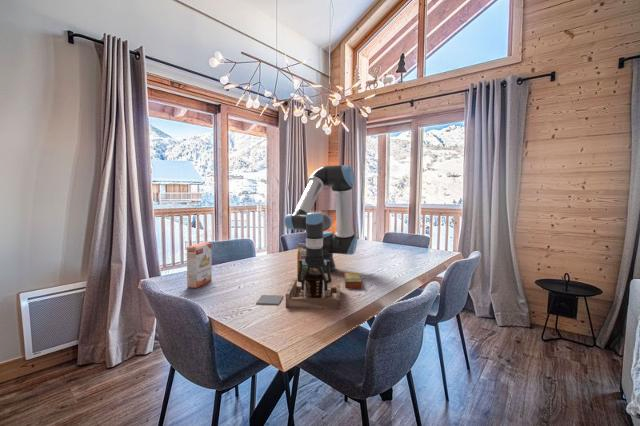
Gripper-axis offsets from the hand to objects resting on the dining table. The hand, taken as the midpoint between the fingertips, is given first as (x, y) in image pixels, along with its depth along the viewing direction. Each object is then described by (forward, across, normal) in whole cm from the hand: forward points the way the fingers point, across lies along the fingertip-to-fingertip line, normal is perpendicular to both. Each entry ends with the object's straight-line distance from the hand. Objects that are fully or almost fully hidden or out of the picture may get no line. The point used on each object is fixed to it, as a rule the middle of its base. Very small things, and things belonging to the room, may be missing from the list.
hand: (314, 297), depth 137 cm
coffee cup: (+2, 0, 0) cm, 2 cm away
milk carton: (+2, -7, +38) cm, 39 cm away
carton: (+2, +18, +26) cm, 32 cm away
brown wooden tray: (+2, 0, +3) cm, 3 cm away
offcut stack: (+2, 0, +10) cm, 10 cm away
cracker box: (+2, -62, +19) cm, 65 cm away
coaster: (+2, -20, -1) cm, 20 cm away
